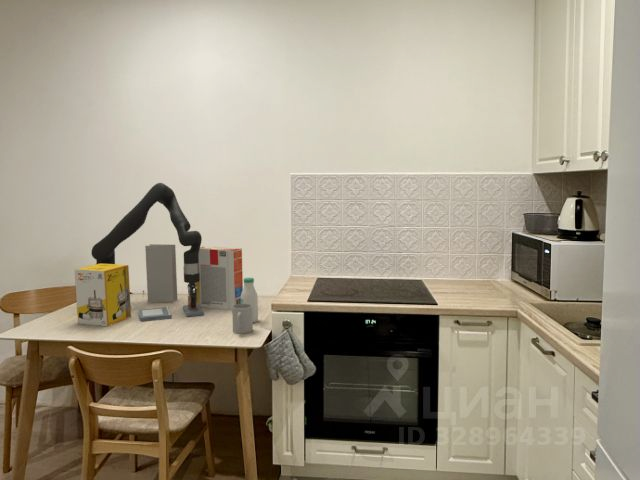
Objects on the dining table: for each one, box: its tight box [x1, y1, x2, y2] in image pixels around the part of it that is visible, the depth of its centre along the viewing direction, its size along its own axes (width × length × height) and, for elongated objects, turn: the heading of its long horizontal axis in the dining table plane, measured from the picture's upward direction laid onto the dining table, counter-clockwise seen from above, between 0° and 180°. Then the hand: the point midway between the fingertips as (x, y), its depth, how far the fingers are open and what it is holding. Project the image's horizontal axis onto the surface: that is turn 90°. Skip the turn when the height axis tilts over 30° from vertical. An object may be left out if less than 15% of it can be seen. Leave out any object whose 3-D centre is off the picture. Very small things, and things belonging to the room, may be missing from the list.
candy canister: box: [241, 277, 259, 323], centre depth 235 cm, size 8×8×20 cm
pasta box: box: [195, 245, 244, 311], centre depth 262 cm, size 23×8×30 cm, turn 69°
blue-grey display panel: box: [138, 306, 172, 322], centre depth 246 cm, size 14×16×2 cm
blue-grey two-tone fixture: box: [182, 295, 205, 317], centre depth 252 cm, size 8×16×8 cm, turn 21°
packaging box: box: [74, 263, 132, 327], centre depth 238 cm, size 16×16×25 cm
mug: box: [231, 304, 254, 335], centre depth 220 cm, size 12×8×11 cm
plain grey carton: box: [145, 244, 178, 303], centre depth 274 cm, size 14×6×30 cm, turn 84°
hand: (192, 306), depth 252 cm, fingers closed on blue-grey two-tone fixture, 4 cm apart
